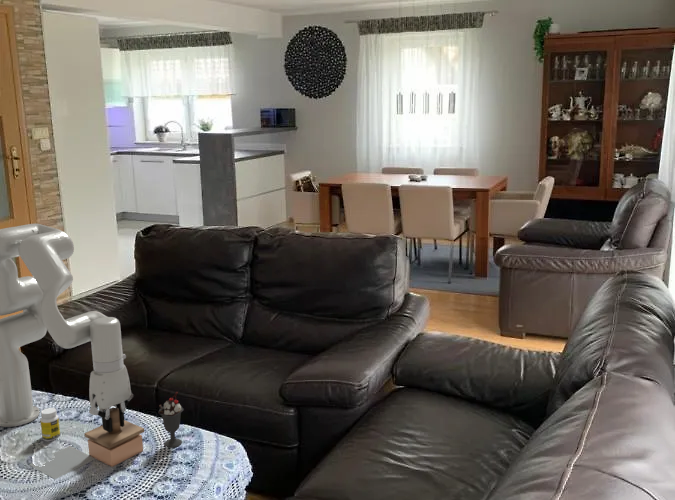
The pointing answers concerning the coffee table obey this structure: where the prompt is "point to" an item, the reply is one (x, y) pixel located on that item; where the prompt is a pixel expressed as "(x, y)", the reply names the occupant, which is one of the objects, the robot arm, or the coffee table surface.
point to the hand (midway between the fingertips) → (114, 427)
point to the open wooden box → (116, 451)
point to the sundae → (171, 420)
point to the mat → (64, 462)
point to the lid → (114, 431)
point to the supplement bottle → (50, 424)
